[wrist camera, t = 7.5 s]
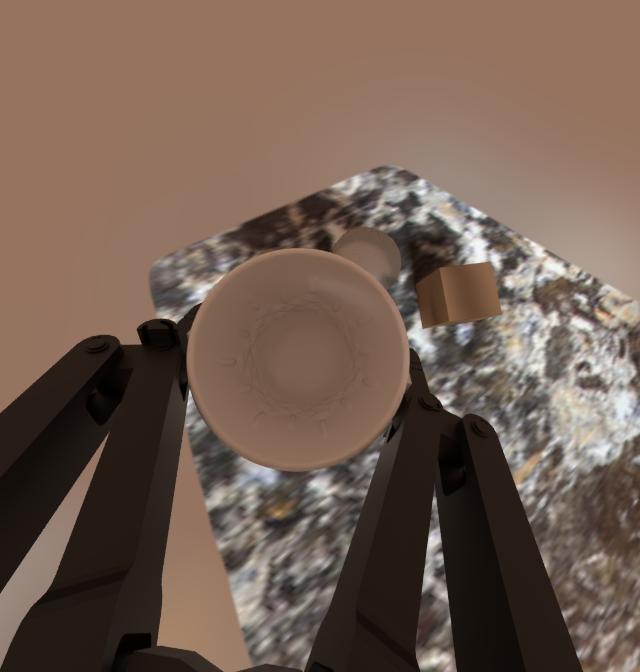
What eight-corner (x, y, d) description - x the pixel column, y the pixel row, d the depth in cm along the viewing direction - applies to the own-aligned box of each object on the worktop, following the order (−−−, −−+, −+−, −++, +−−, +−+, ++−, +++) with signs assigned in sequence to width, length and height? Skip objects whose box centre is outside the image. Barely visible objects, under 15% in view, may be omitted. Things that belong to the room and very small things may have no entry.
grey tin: (385, 264, 27) (407, 237, 21) (373, 316, 26) (393, 302, 20) (333, 251, 27) (340, 219, 21) (320, 302, 26) (324, 285, 20)
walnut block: (457, 279, 27) (490, 261, 22) (465, 323, 27) (501, 314, 22) (414, 284, 27) (439, 267, 22) (422, 328, 26) (449, 321, 22)
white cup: (229, 371, 18) (136, 386, 8) (290, 287, 19) (273, 207, 9) (317, 431, 18) (332, 520, 8) (373, 344, 19) (449, 326, 9)
